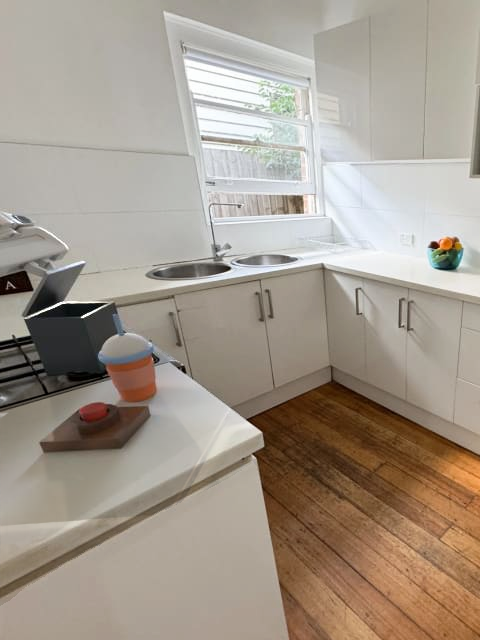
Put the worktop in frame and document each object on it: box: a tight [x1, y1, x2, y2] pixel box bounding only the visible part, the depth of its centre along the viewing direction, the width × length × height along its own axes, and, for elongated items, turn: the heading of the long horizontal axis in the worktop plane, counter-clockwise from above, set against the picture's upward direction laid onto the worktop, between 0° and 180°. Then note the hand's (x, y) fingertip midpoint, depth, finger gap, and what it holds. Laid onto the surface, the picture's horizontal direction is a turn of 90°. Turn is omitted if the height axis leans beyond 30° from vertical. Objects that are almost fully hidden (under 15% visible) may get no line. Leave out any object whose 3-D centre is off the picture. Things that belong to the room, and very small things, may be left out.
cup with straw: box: [98, 313, 158, 403], centre depth 77 cm, size 9×9×18 cm
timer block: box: [38, 403, 151, 453], centre depth 68 cm, size 12×10×4 cm
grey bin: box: [23, 301, 119, 376], centre depth 90 cm, size 12×12×14 cm
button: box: [78, 401, 108, 421], centre depth 67 cm, size 4×4×2 cm
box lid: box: [20, 260, 87, 318], centre depth 85 cm, size 12×12×1 cm
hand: (57, 278), depth 84 cm, fingers closed, pressing on box lid
